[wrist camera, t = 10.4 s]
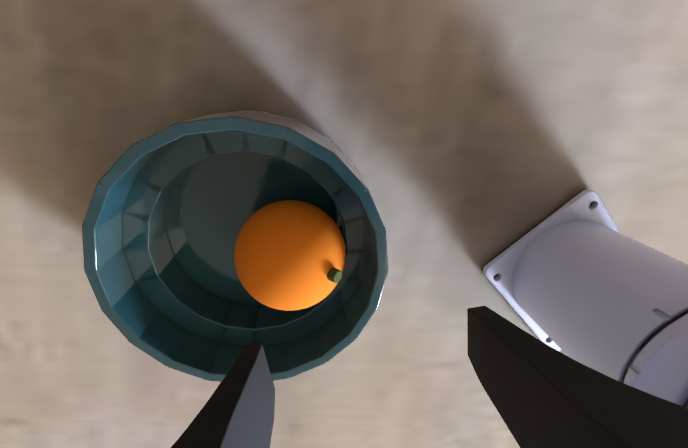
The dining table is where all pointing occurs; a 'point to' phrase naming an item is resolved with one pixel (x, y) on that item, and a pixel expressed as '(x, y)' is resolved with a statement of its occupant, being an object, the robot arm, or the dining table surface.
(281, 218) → the mandarin
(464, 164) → the dining table surface
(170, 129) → the bowl
